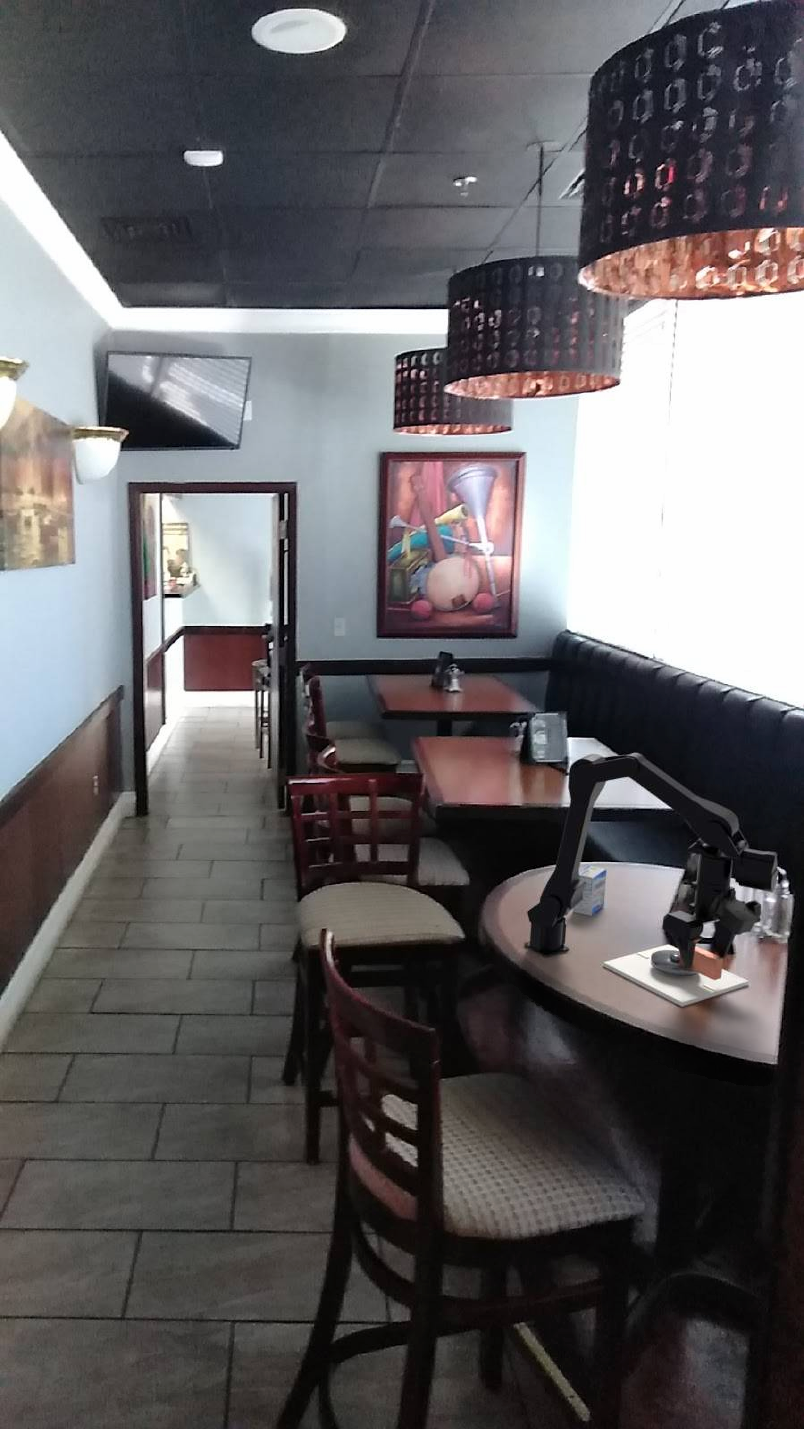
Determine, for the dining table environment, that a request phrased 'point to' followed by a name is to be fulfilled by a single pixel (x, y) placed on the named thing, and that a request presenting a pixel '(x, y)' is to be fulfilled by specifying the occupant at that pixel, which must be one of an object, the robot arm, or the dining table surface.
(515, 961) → the dining table surface
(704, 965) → the handwheel
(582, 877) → the medicine box
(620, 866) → the dining table surface
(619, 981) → the dining table surface
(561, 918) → the robot arm
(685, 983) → the wheel board
